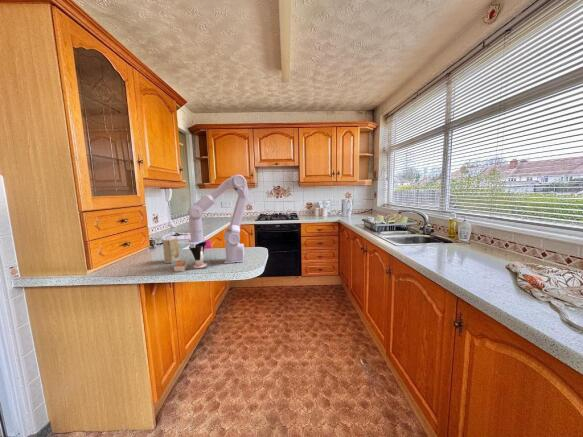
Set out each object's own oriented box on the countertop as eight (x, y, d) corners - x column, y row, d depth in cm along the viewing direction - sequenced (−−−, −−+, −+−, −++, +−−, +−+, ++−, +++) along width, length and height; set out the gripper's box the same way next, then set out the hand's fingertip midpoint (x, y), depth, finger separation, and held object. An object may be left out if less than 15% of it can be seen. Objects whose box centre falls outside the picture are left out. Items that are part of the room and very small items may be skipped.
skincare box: (171, 263, 119) (169, 240, 117) (164, 263, 120) (161, 240, 118) (180, 259, 125) (177, 237, 124) (173, 259, 126) (170, 237, 125)
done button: (184, 264, 111) (184, 260, 110) (182, 266, 108) (182, 262, 108) (178, 265, 111) (178, 261, 110) (176, 267, 108) (176, 263, 107)
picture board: (212, 261, 120) (212, 260, 120) (206, 268, 110) (206, 267, 109) (194, 262, 119) (194, 261, 119) (187, 269, 109) (186, 268, 109)
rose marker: (205, 261, 114) (203, 245, 113) (202, 264, 110) (200, 247, 109) (196, 261, 114) (195, 246, 113) (193, 264, 110) (192, 248, 109)
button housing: (187, 267, 112) (186, 263, 111) (183, 270, 108) (183, 266, 107) (178, 268, 111) (177, 263, 111) (174, 271, 107) (174, 266, 107)
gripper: (193, 228, 117) (195, 254, 119) (181, 234, 103) (184, 263, 104) (207, 228, 117) (209, 253, 119) (198, 233, 103) (200, 263, 105)
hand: (199, 258), depth 112 cm, fingers closed on rose marker, 4 cm apart
